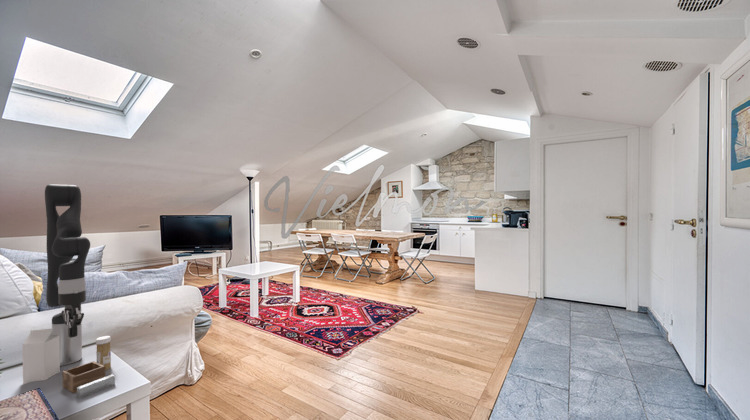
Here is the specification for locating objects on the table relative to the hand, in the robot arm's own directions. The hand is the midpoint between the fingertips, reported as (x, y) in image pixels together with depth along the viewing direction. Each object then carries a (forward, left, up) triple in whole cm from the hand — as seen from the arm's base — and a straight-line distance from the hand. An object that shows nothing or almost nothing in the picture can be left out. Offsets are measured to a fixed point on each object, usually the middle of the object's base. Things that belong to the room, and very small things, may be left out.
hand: (72, 336), depth 123 cm
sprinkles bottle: (+1, +9, -17) cm, 19 cm away
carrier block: (+9, 0, -16) cm, 18 cm away
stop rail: (+18, 0, -16) cm, 24 cm away
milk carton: (-13, -5, -17) cm, 22 cm away
